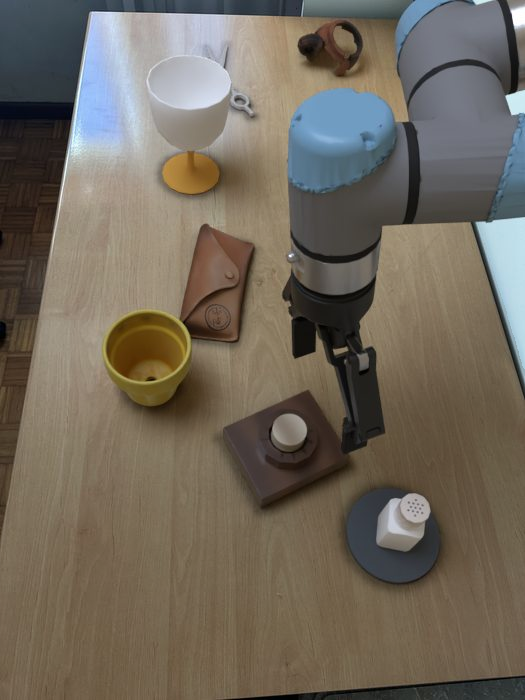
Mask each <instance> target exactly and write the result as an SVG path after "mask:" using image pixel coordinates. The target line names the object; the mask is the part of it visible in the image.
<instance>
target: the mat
mask: <svg viewBox="0 0 525 700" xmlns="http://www.w3.org/2000/svg"><path fill="white" fill-rule="evenodd" d="M408 494H410V492H407V491H404V490H402V489H397V488H390V487H384V488H378V489H374V490H371V491H369V492H367V493H365V494H364V495H362V496H361V497H360V498H359V499H357V500H356V502H355V503H354V504H353V506H352V507H351V510H350V511H349V513H348V516H347V518H346V524H345V538H346V544H347V546H348V549H349V552H350V554H351V556H352V557H353V560H355V562H356V563H357V564H358V566H359V567H360V568H361V569H362V570H363V571H365V573H367V574H368V575H369V576H371V577H373V578H375V579H377V580H379V581H382V582H385V583H388V584H399V585H400V584H407V583H411V582H414V581H416V580H419V579H420V578H421V577H423V576H424V575H426V574H427V573H428V572H429V571H430V570H431V569H432V567H433V566H434V564H435V563H436V562H437V558H438V555H439V553H440V547H441V534H440V530H439V526H438V523H437V521H436V518H435V517H434V515H433V513H432V512H431V511H430V514H429V517H428V519H427V520H426V521H425V528H424V535H423V537H422V539H421V540H419V541H418V542H417V543H416V544H415V545H414V546H413V547H412V548H411V549H410V550H409V551H406V552H405V551H400V550H395V549H390V548H385V547H380V546H379V545H377V542H376V536H377V524H378V516H379V514H380V513H381V512H382V510H383V509H384V508H385V506H386V505H387V504H388V502H389V501H390V500H391V499H394V498H398V499H402V498H403V497H405V496H406V495H408Z"/></svg>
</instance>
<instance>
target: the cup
mask: <svg viewBox="0 0 525 700" xmlns="http://www.w3.org/2000/svg"><path fill="white" fill-rule="evenodd" d="M232 81H233V80H232V78H231V76H230V74H229V72H228V71H227V70H226V69H225V68H224V67H222V66H221V65H220V64H219V62H217V61H216V62H214V61H212V60H210V58H208V57H206V56H200V55H194V54H184V55H173V56H170V57H168V58H165V59H163V60H160V61H158V62H157V63H156V64H154V66H153V67H151V68H150V70H149V72H148V74H147V77H146V80H145V82H146V83H145V84H146V92H147V98H148V103H149V107H150V112H151V116H152V119H153V124H154V126H155V128H156V130H157V133H158V134H159V135H161V137H162V138H163V139H164V140H165V141H166V142H167V143H168V144H169V145H170V146H171V147H175V148H176V149H178V150H181V151H186V152H185V153H184V152H183V153H179V154H177V155H174V156H172V157H170V159H168V160H167V161H166V162H165V163H164V165H163V168H162V172H161V174H162V178H163V182H164V183H165V184H166V185H167V186H168V187H169V188H170V189H172V190H174V191H176V192H178V193H180V194H185V195H198V194H203V193H206V192H207V191H209V190H211V189H213V188H214V187H215V186H216V184H217V183H219V180H220V179H219V178H220V174H221V173H220V171H219V170H220V169H219V167H218V164H217V163H216V162H214V160H213V159H212V158H210V157H208V156H206V155H204V154H202V153H195V151H201V150H203V149H206V148H209V147H210V146H212V144H213V143H214V142H215V141H216V140H217V139H218V138H219V137H220V136H221V135H222V134H223V131H224V128H225V126H226V123H227V119H228V115H229V109H230V105H231V103H230V100H231V97H232V93H231V90H232V87H233V82H232Z"/></svg>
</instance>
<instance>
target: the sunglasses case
mask: <svg viewBox="0 0 525 700" xmlns="http://www.w3.org/2000/svg"><path fill="white" fill-rule="evenodd" d="M254 248H255V244H254V243H253V242H249V241H243V240H241V239H239V238H237V237H234V236H233V235H230V234H228V233H226V232H223V231H222V230H218V229H216V228H214V227H211V226H210V224H209V223H207V222H205V223H203V224H201V226H200V228H199V231H198V234H197V239H196V242H195V247H194V250H193V255H192V259H191V264H190V269H189V273H188V276H187V277H188V278H187V282H186V286H185V290H184V295H183V299H182V305H181V310H180V315H179V320H180V321H181V322H182V323H183V324H184V325H185V327H186V328H187V330H188V332H189V334H190V337H191V339H192V338H193V339H199V340H207V341H216V342H227V343H231V342H232V343H233V342H236V341H238V339H239V335H240V322H241V321H240V320H241V319H240V318H241V308H242V302H243V295H244V290H245V286H246V285H245V284H246V279H247V273H248V269H249V265H250V260H251V256H252V253H253V251H254Z"/></svg>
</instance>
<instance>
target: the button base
mask: <svg viewBox="0 0 525 700" xmlns="http://www.w3.org/2000/svg"><path fill="white" fill-rule="evenodd" d="M283 414H294V415H297V416H299V417H300V418H301V419H302V420H303V421H304V422H305V424H306V427H307V434H306V437H305V440H304V443H303V445H302V446H301V447H300V448H299V449H298V450H296V451H294V452H284V451H281V450H279V449H278V448H276V447H275V445H274V444H273V442H272V440H271V432H272V427H273V423H274V421H275V420H276V419H277V418H278V417H279V416H281V415H283ZM221 436H222V440H223V442H224V444H225V445H226V447H227V449H228V451H229V454H230V455H231V457H232V459H233V461H234V462H235V464H236V466H237V468H238V470H239V472H240V474H241V475H242V477H243V479H244V481H245V483H246V485H247V486H248V489H249V490H250V492H251V494H252V497H253V498H254V499H255V501H256V503H257V505H258V507H259V508H263V507H265V506H267V505H269V504H271V503H273V502H276V501H277V500H279V499H281V498H283V497H285V496H287V495H289V494H291V493H293V492H295V491H297V490H299V489H301V488H303V487H305V486H307V485H309V484H311V483H313V482H315V481H316V480H318V479H321V478H323V477H325V476H327V475H330V474H331V473H333V472H335V471H337V470H339V469H341V468H343V467H344V466H346V465H347V463H348V461H349V460H350V457H351V455H350V454H349V453H347V454H343V452H342V450H341V441H342V440H341V438H339V436H338V435H337V433H336V431H335V430H334V428H333V426H332V425H331V424H330V422H329V420H328V419H327V417H326V415H325V413H324V412H323V411H322V409H321V407H320V406H319V404H318V402H317V401H316V399H315V397H314V396H313V394H312V393H311V391H310V390H309V389H306V390H304V391H301V392H299V393H298V394H295V395H293V396H291V397H288V398H286V399H284V400H282V401H280V402H278V403H275V404H273V405H271V406H269V407H266V408H264V409H262V410H259V411H257V412H254V413H253V414H250V415H248V416H246V417H243V418H241V419H239V420H237V421H235V422H233V423H230V424H228V425H225V426H224V427H223V428H222V435H221Z"/></svg>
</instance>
